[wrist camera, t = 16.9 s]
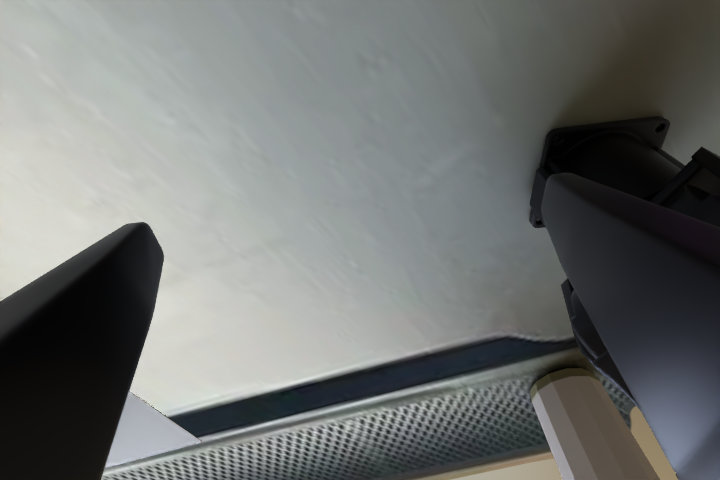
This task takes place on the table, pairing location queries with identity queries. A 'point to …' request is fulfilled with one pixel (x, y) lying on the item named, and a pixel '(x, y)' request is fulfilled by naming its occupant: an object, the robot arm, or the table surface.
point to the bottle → (587, 429)
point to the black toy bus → (145, 433)
